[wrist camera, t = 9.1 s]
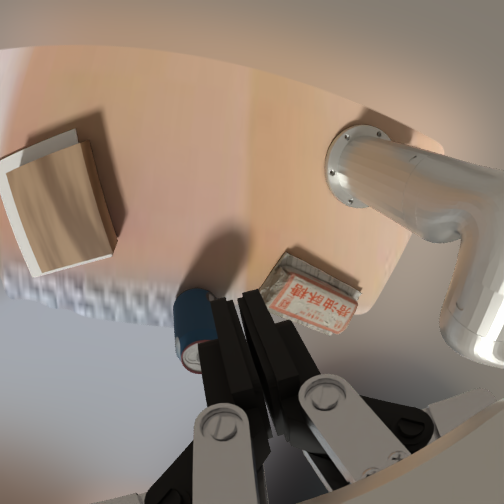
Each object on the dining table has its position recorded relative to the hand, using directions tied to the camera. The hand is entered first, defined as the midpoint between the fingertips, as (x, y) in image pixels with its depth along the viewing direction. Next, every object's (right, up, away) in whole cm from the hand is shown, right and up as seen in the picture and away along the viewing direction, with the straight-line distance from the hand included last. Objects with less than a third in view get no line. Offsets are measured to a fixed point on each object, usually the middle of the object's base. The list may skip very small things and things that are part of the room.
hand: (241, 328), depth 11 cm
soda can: (-8, -5, +36) cm, 37 cm away
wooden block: (-18, +9, +23) cm, 31 cm away
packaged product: (+10, -5, +41) cm, 42 cm away
